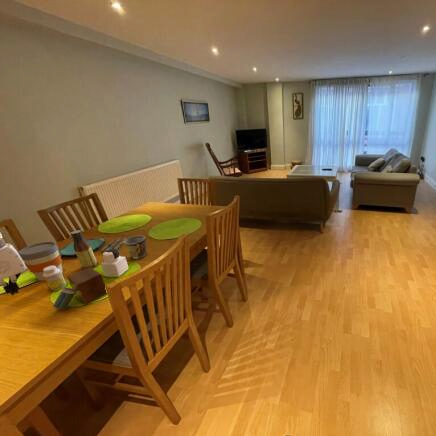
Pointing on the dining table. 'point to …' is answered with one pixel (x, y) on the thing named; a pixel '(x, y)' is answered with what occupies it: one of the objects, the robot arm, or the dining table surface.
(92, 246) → the cutlery set
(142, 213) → the dining table surface
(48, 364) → the dining table surface
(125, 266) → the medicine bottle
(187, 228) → the dining table surface
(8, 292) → the robot arm
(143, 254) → the ceramic cup
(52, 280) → the supplement bottle
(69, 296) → the cylinder
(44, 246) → the reusable coffee cup
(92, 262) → the sauce bottle
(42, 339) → the dining table surface
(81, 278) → the box
